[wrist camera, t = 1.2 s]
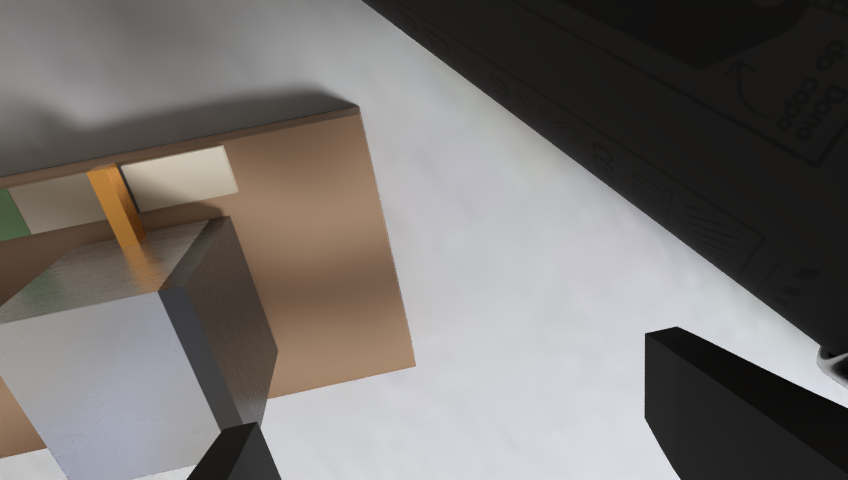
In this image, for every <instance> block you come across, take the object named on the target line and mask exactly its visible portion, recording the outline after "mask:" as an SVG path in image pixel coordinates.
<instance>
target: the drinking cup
mask: <svg viewBox="0 0 848 480" xmlns="http://www.w3.org/2000/svg"><path fill="white" fill-rule="evenodd" d="M362 1H363V2H365V3H366V4H367V5H369V6H370V7H371V8H373V9H374V10H375V11H377V12H378V13H379V14H381V15H382V16H383V17H385V18H386V19H387V20H389V21H390V22H391V23H393V24H394V25H395V26H397V27H398V28H399V29H401V30H402V31H403V32H404V33H406V34H407V35H408V36H410V37H411V38H412V39H414V40H415V41H416V42H418V43H419V44H420V45H422V46H423V47H424V48H426V49H427V50H428V51H430V52H431V53H432V54H434V55H435V56H436V57H438V58H439V59H440V60H442V61H443V62H444V63H446V64H447V65H448V66H450V67H451V68H452V69H454V70H455V71H456V72H458V73H459V74H460V75H462V76H463V77H464V78H466V79H467V80H468V81H470V82H471V83H472V84H474V85H475V86H476V87H478V88H479V89H480V90H482V91H483V92H484V93H486V94H487V95H488V96H490V97H491V98H492V99H494V100H495V101H496V102H498V103H499V104H500V105H502V106H503V107H504V108H506V109H507V110H508V111H510V112H511V113H512V114H514V115H515V116H516V117H518V118H519V119H520V120H522V121H523V122H524V123H526V124H527V125H528V126H530V127H531V128H532V129H534V130H535V131H536V132H538V133H539V134H540V135H541V136H543V137H544V138H545V139H547V140H548V141H549V142H551V143H552V144H553V145H555V146H556V147H557V148H559V149H560V150H561V151H563V152H564V153H565V154H567V155H568V156H569V157H571V158H572V159H573V160H575V161H576V162H577V163H579V164H580V165H581V166H583V167H584V168H585V169H587V170H588V171H589V172H591V173H592V174H593V175H595V176H596V177H597V178H599V179H600V180H601V181H603V182H604V183H605V184H607V185H608V186H609V187H611V188H612V189H613V190H615V191H616V192H617V193H619V194H620V195H621V196H623V197H624V198H625V199H627V200H628V201H629V202H631V203H632V204H633V205H635V206H636V207H637V208H639V209H640V210H641V211H643V212H644V213H645V214H647V215H648V216H649V217H651V218H652V219H653V220H655V221H656V222H657V223H659V224H660V225H661V226H663V227H664V228H665V229H667V230H668V231H669V232H671V233H672V234H673V235H674V236H676V237H677V238H678V239H680V240H681V241H682V242H684V243H685V244H686V245H688V246H689V247H690V248H692V249H693V250H694V251H696V252H697V253H698V254H700V255H701V256H702V257H704V258H705V259H706V260H708V261H709V262H710V263H712V264H713V265H714V266H716V267H717V268H718V269H720V270H721V271H722V272H724V273H725V274H726V275H728V276H729V277H730V278H732V279H733V280H734V281H736V282H737V283H738V284H740V285H741V286H742V287H744V288H745V289H746V290H748V291H749V292H750V293H752V294H753V295H754V296H756V297H757V298H758V299H760V300H761V301H762V302H764V303H765V304H766V305H768V306H769V307H770V308H772V309H773V310H774V311H776V312H777V313H778V314H780V315H781V316H782V317H784V318H785V319H786V320H788V321H789V322H790V323H792V324H793V325H794V326H796V327H797V328H798V329H800V330H801V331H802V332H804V333H805V334H806V335H808V336H809V337H810V338H811V339H813V340H814V341H815V342H817V343H818V344H819V345H821V346H820V348H819V351H818V355H817V361H816V363H817V365H818V367H819V368H820V369H821V370H822V372H823V373H824V374H826V375H827V376H829V377H830V378H831V379H833V380H834V381H836V382H837V383H839V384H840V385H842V386H843V387H845V388H847V389H848V0H362Z"/></svg>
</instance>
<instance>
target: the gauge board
mask: <svg viewBox="0 0 848 480" xmlns="http://www.w3.org/2000/svg"><path fill="white" fill-rule="evenodd" d="M111 163H115V164H116V166H117V168H118V171H119V173H120V175H121V177H122V180H123V182H124V184H125V186H126V189H127V191H128V193H129V196H130V198H131V200H132V202H133V205H134V207H135V209H136V211H137V214H138V216H139V218H140V221H141V223H142V225H143V227H144V230H145V232H151V231H156V230H160V229H165V228H170V227H175V226H180V225H185V224H190V223H194V222H199V221H204V220H209V219H214V218H219V217H224V216H229V215H230V217H231V220H232V223H233V225H234V228H235V231H236V234H237V237H238V239H239V242H240V245H241V248H242V251H243V253H244V256H245V259H246V262H247V264H248V267H249V270H250V273H251V276H252V278H253V281H254V284H255V287H256V290H257V292H258V295H259V298H260V301H261V303H262V306H263V309H264V312H265V315H266V317H267V320H268V323H269V326H270V329H271V331H272V334H273V337H274V340H275V343H276V345H277V348H278V355H277V359H276V363H275V368H274V372H273V376H272V380H271V385H270V389H269V393H268V398H267V399H270V398H275V397H279V396H284V395H288V394H293V393H297V392H302V391H306V390H311V389H315V388H320V387H324V386H329V385H333V384H338V383H343V382H347V381H352V380H356V379H361V378H365V377H370V376H374V375H379V374H383V373H388V372H392V371H397V370H401V369H406V368H410V367H415V366H416V364H415V358H414V352H413V347H412V341H411V337H410V332H409V328H408V323H407V319H406V314H405V310H404V305H403V301H402V296H401V292H400V287H399V283H398V278H397V274H396V269H395V265H394V260H393V256H392V251H391V247H390V243H389V238H388V234H387V229H386V225H385V220H384V216H383V211H382V207H381V202H380V198H379V193H378V189H377V184H376V180H375V175H374V171H373V166H372V162H371V157H370V153H369V148H368V144H367V139H366V135H365V130H364V126H363V121H362V117H361V112H360V108H359V106H357V107H352V108H347V109H342V110H337V111H332V112H327V113H322V114H317V115H312V116H307V117H302V118H297V119H292V120H287V121H281V122H276V123H271V124H266V125H261V126H256V127H251V128H246V129H241V130H236V131H231V132H226V133H221V134H216V135H211V136H206V137H201V138H196V139H191V140H186V141H181V142H176V143H171V144H166V145H161V146H156V147H151V148H146V149H141V150H136V151H131V152H125V153H120V154H115V155H110V156H105V157H100V158H95V159H90V160H85V161H80V162H75V163H70V164H65V165H60V166H55V167H50V168H45V169H40V170H35V171H30V172H25V173H20V174H15V175H10V176H5V177H0V307H1V306H2V305H3V304H5V303H6V302H7V301H8V300H10V299H11V298H12V297H13V296H15V295H16V294H17V293H18V292H20V291H21V290H22V289H23V288H24V287H26V286H27V285H28V284H29V283H31V282H32V281H33V280H34V279H36V278H37V277H38V276H39V275H41V274H42V273H43V272H44V271H45V270H47V269H48V268H49V267H50V266H52V265H53V264H54V263H55V262H57V261H58V260H59V259H60V258H62V257H63V256H64V255H65V254H66V253H68V252H69V251H70V250H71V249H73V248H74V247H78V246H83V245H87V244H92V243H97V242H102V241H107V240H112V239H117V238H116V236H115V233H114V231H113V229H112V227H111V225H110V223H109V221H108V218H107V216H106V214H105V212H104V210H103V208H102V206H101V203H100V201H99V199H98V197H97V195H96V193H95V191H94V189H93V186H92V184H91V182H90V180H89V178H88V176H87V174H86V172H88V171H90V170H91V169H93V168H95V167H97V166H101V165H106V164H111ZM45 448H47V446H46V445H45V443H44V442H43V440H42V438H41V437H40V435H39V434H38V432H37V431H36V429H35V428H34V426H33V425H32V423H31V422H30V420H29V419H28V417H27V416H26V414H25V413H24V411H23V409H22V408H21V406H20V405H19V403H18V402H17V400H16V399H15V397H14V396H13V394H12V393H11V391H10V390H9V388H8V387H7V385H6V383H5V382H4V380H3V379H2V377H1V376H0V458H4V457H9V456H13V455H18V454H22V453H27V452H31V451H36V450H40V449H45Z"/></svg>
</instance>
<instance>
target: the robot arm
mask: <svg viewBox="0 0 848 480" xmlns="http://www.w3.org/2000/svg"><path fill="white" fill-rule="evenodd" d="M645 419H646V421H647V423H648V425H649V427H650V428H651V430H652V432H653V434H654V436H655V438H656V439H657V441H658V443H659V445H660V447H661V448H662V450H663V452H664V454H665V455H666V457H667V459H668V460H669V462H670V464H671V466H672V467H673V469H674V470H675V472H676V473H677V475H678V476H679V478H680V479H681V480H848V408H846V407H844V406H842V405H839V404H837V403H835V402H833V401H831V400H829V399H826V398H824V397H822V396H820V395H818V394H815V393H813V392H811V391H809V390H807V389H805V388H803V387H800V386H798V385H796V384H794V383H792V382H790V381H788V380H786V379H784V378H782V377H780V376H778V375H776V374H773V373H771V372H769V371H767V370H765V369H763V368H761V367H759V366H757V365H755V364H753V363H751V362H749V361H747V360H745V359H743V358H741V357H739V356H737V355H735V354H733V353H731V352H729V351H727V350H725V349H723V348H721V347H719V346H717V345H715V344H713V343H711V342H709V341H707V340H705V339H703V338H701V337H699V336H697V335H695V334H692V333H690V332H688V331H686V330H684V329H681V328H679V327H672V328H668V329H664V330H659V331H655V332H650V333H646V334H645ZM187 480H281V477H280V475H279V473H278V470H277V468H276V465H275V463H274V461H273V458H272V456H271V453H270V451H269V448H268V446H267V444H266V441H265V439H264V436H263V434H262V432H261V429H260V427H259V424H258V422H257V421H256V422H252V423H247V424H243V425H239V426H234V427H230V428H225V429H223V430H222V432H221V433H220V434H219V435H218V437H217V438H216V439H215V441H214V442H213V444H212V445H211V446H210V448H209V449H208V450H207V452H206V453H205V455H204V456H203V457H202V459H201V460H200V462H199V463H198V464H197V466H196V467H195V469H194V470H193V471H192V473H191V474H190V475H189V477H188V478H187Z"/></svg>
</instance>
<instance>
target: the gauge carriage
mask: <svg viewBox="0 0 848 480" xmlns="http://www.w3.org/2000/svg"><path fill="white" fill-rule="evenodd" d="M86 174H87V176H88V178H89V180H90V182H91V184H92V186H93V189H94V191H95V193H96V195H97V197H98V199H99V201H100V203H101V206H102V208H103V210H104V212H105V214H106V216H107V218H108V221H109V223H110V225H111V227H112V229H113V231H114V233H115V236H116V238H117V239H112V240H107V241H102V242H97V243H92V244H87V245H83V246H78V247H74V248H73V249H71V250H70V251H69V252H68V253H66V254H65V255H64V256H63V257H62V258H60V259H59V260H58V261H57V262H55V263H54V264H53V265H52V266H50V267H49V268H48V269H47V270H45V271H44V272H43V273H42V274H41V275H39V276H38V277H37V278H36V279H34V280H33V281H32V282H31V283H29V284H28V285H27V286H26V287H24V288H23V289H22V290H21V291H20V292H18V293H17V294H16V295H15V296H13V297H12V298H11V299H10V300H8V301H7V302H6V303H5V304H3V305H2V306H1V307H0V376H1V377H2V379H3V380H4V382H5V383H6V385H7V387H8V388H9V390H10V391H11V393H12V394H13V396H14V397H15V399H16V400H17V402H18V403H19V405H20V406H21V408H22V409H23V411H24V413H25V414H26V416H27V417H28V419H29V420H30V422H31V423H32V425H33V426H34V428H35V429H36V431H37V432H38V434H39V435H40V437H41V438H42V440H43V442H44V443H45V445H46V446H47V448H48V449H49V451H50V452H51V454H52V455H53V457H54V458H55V460H56V461H57V463H58V464H59V466H60V468H61V469H62V471H63V472H64V474H65V475H66V477H67V478H68V480H130V479H135V478H139V477H144V476H148V475H153V474H157V473H161V472H166V471H170V470H175V469H179V468H184V467H188V466H192V465H197V464H198V463H199V462H200V460H201V459H202V457H203V456H204V455H205V453H206V452H207V450H208V449H209V448H210V446H211V445H212V444H213V442H214V441H215V439H216V438H217V437H218V435H219V434H220V433H221V432H222V430H223V429H225V428H230V427H234V426H239V425H243V424H247V423H252V422H256V421H257V422H258V424H259V427H260V428H261V423H262V419H263V415H264V411H265V406H266V402H267V398H268V393H269V389H270V385H271V380H272V376H273V372H274V368H275V363H276V359H277V355H278V348H277V345H276V343H275V340H274V337H273V334H272V331H271V329H270V326H269V323H268V320H267V317H266V315H265V312H264V309H263V306H262V303H261V301H260V298H259V295H258V292H257V290H256V287H255V284H254V281H253V278H252V276H251V273H250V270H249V267H248V264H247V262H246V259H245V256H244V253H243V251H242V248H241V245H240V242H239V239H238V237H237V234H236V231H235V228H234V225H233V223H232V220H231V217H230V215H229V216H224V217H219V218H214V219H209V220H204V221H199V222H194V223H190V224H185V225H180V226H175V227H170V228H165V229H160V230H156V231H151V232H145V230H144V227H143V225H142V223H141V221H140V218H139V216H138V214H137V211H136V209H135V207H134V205H133V202H132V200H131V198H130V196H129V193H128V191H127V189H126V186H125V184H124V182H123V180H122V177H121V175H120V173H119V171H118V168H117V166H116V164H115V163H111V164H106V165H101V166H97V167H95V168H93V169H91V170H90V171H88V172H86Z"/></svg>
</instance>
